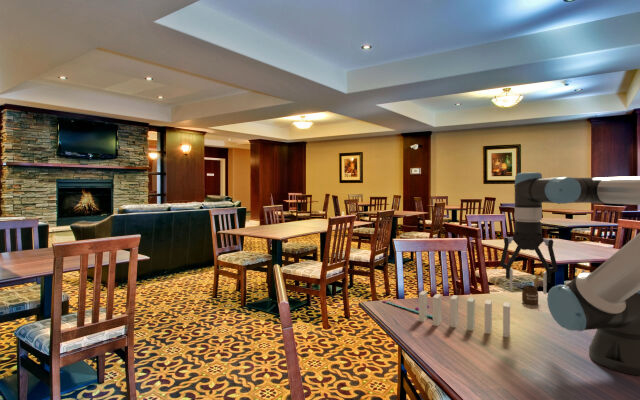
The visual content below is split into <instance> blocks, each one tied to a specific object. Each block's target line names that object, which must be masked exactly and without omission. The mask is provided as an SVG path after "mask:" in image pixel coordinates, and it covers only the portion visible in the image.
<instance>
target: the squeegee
mask: <svg viewBox="0 0 640 400" xmlns="http://www.w3.org/2000/svg"><path fill="white" fill-rule="evenodd" d="M381 302H382V303H385V304H388V303H389V304H388V305H391V304H392V305H391V306H394V305H395V306H394V307H397V306H398V308H400V307H401V308H400V309H403V308H405V309H404V310H406V309H407V310H406V311H409V310H410V312H412V311H413V312H412V313H414V314H415V313H416V314H418V315H419V311H417V310H419V306H417V307H415V308H408V307H406V306H402V305H398V304H395V303H392V302H389V301H385V300H382V301H381ZM429 307H430V306H429V304H427V309H429ZM429 317H430V319H432V320H433V314H431V315H430V314H428V313H427V318H429Z"/></svg>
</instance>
